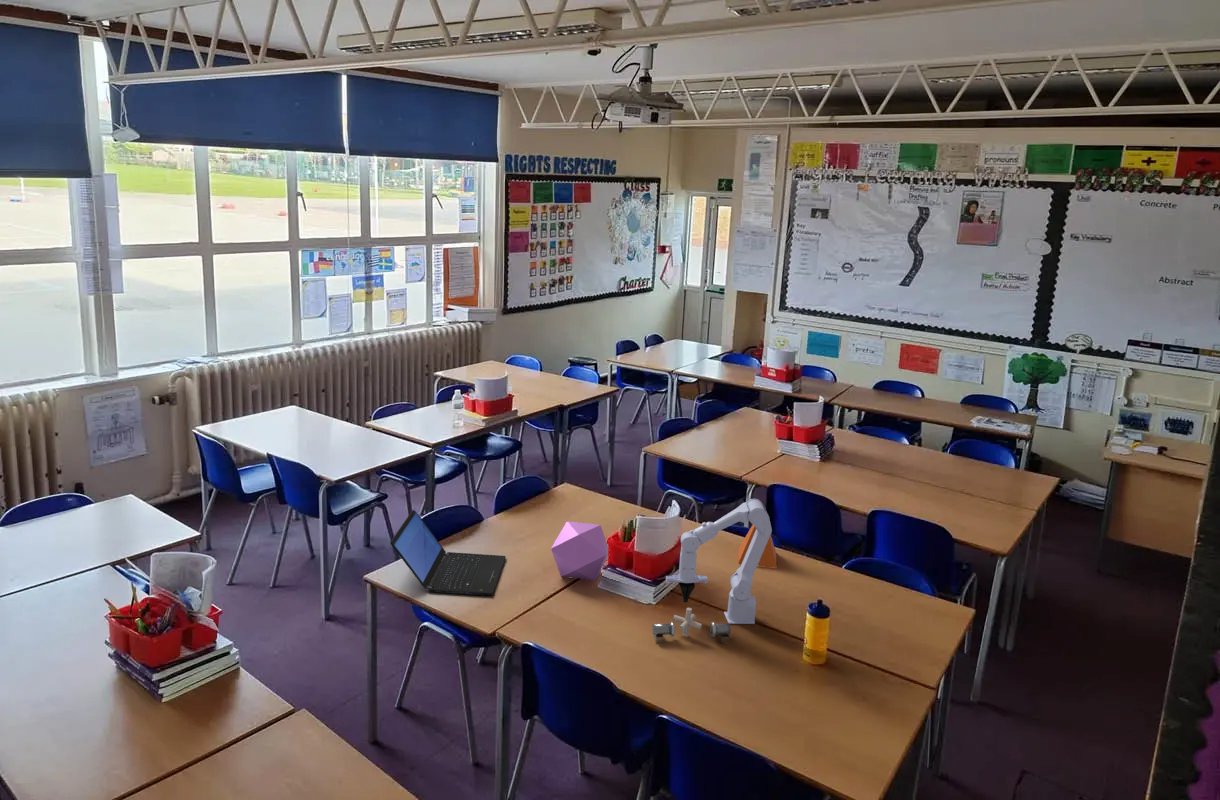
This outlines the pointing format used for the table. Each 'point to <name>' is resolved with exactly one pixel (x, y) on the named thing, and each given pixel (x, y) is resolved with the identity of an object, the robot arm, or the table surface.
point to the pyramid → (767, 556)
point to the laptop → (444, 562)
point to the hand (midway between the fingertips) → (685, 601)
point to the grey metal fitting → (663, 631)
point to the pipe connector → (687, 622)
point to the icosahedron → (580, 550)
